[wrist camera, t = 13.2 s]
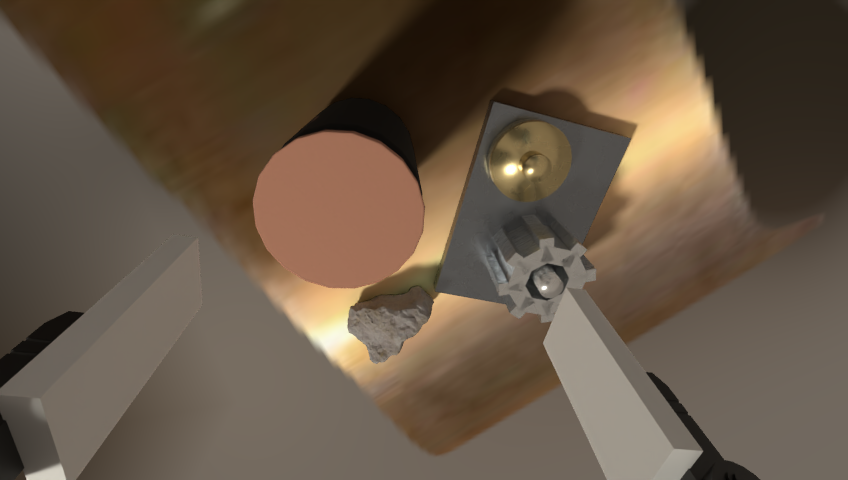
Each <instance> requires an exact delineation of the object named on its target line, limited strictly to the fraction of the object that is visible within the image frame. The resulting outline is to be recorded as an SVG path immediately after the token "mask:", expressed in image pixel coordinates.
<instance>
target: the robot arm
mask: <svg viewBox="0 0 848 480" xmlns="http://www.w3.org/2000/svg"><path fill="white" fill-rule="evenodd" d="M198 244H199V243H198V237H191V236H184V235H176V234H173V235H172V236H171V237H170V238H169V239H167V241H165V242H164V243H163V244H162V245H161V246H160V247H158V248H157V249H156V250H155V251H154V252H153V253H152V254H151V255H149V257H147V258H146V259H145V260H144V261H143V262H142V263H141V264H139V265H138V266H137V267H136V268H135V269H134V270H133V271H132V272H130V273H129V274H128V275H127V276H126V277H125V278H124V279H123V280H121V281H120V282H119V283H118V284H117V285H116V286H115V287H114V288H112V289H111V290H110V291H109V292H108V293H107V294H106V295H105V296H103V297H102V298H101V299H100V300H99V301H98V302H97V303H96V304H94V305H93V306H92V307H91V308H90V309H89V310H88V311H87V312H85V313H81V312H71V311H68V312H66V313H64V314H62V315H60V316H58V317H56V318H54V319H52V320H50V321H48V322H46V323H44V324H43V325H42V326H40V327H39V328H38V329H37V330H35V331H34V332H33V333H32V334H31V335H29V336H28V337H27V338H26V341H22V342H21V343H20V344H18V345H17V346H16V347H15V348H13V349H12V350H11V353H10V354H6V355H5V356H4V357H2V358H1V359H0V480H14V479H15V478H16V477H17V476H18V475H19V473H20V472H21V471H22V470H23V471H24V473H25V476H26V479H27V480H76V479H77V477H78V476H79V475H80V473H81V472H82V470H83V469H84V467H85V466H86V465H87V464H88V462H89V461H90V459H91V458H92V457H93V455H94V454H95V452H96V451H97V450H98V448H99V447H100V446H101V444H102V443H103V441H104V440H105V439H106V437H107V436H108V434H109V433H110V432H111V430H112V429H113V427H114V426H115V425H116V423H117V422H118V421H119V419H120V418H121V417H122V415H123V414H124V412H125V411H126V410H127V408H128V407H129V405H130V404H131V403H132V401H133V400H134V399H135V397H136V396H137V394H138V393H139V392H140V390H141V389H142V387H143V386H144V385H145V383H146V382H147V381H148V379H149V378H150V376H151V375H152V374H153V372H154V371H155V369H156V368H157V367H158V365H159V364H160V363H161V361H162V360H163V358H164V357H165V355H166V354H167V353H168V351H169V350H170V349H171V347H172V346H173V345H174V343H175V342H176V340H177V339H178V338H179V336H180V335H181V333H182V332H183V331H184V329H185V328H186V327H187V325H188V324H189V322H190V321H191V320H192V318H193V317H194V316H195V314H196V313H197V311H198V310H199V309H200V307H201V305H202V290H201V274H200V259H199V245H198ZM543 344H544V346H545V349H546V351H547V353H548V355H549V357H550V359H551V361H552V363H553V366H554V368H555V370H556V372H557V374H558V376H559V378H560V380H561V383H562V385H563V387H564V389H565V391H566V393H567V395H568V397H569V399H570V402H571V404H572V406H573V408H574V410H575V412H576V414H577V417H578V419H579V421H580V423H581V425H582V427H583V429H584V432H585V434H586V436H587V438H588V440H589V442H590V444H591V446H592V449H593V451H594V453H595V455H596V457H597V459H598V461H599V463H600V466H601V468H602V470H603V472H604V474H605V476H606V478H607V480H760V479H759V478H758V477H757V476H756V475H754V474H753V473H751V472H750V471H749V470H747V469H746V468H744V467H743V466H740V465H738V464H736V463H734V462H731V461H726V460H724V459H723V458H722V456H721V455H720V454H719V452H718V451H717V450H716V448H715V447H714V446H713V445H712V443H711V442H710V441H709V439H708V438H707V437H706V436H705V434H704V433H703V431H702V430H701V429H700V428H699V426H698V425H697V424H696V422H695V421H694V420H693V419H692V418H691V416H689V415H688V412H687V411H686V409H685V408H684V407H683V405H682V404H680V403H679V401H678V399H677V398H676V396H675V395H674V394H673V392H672V391H671V390H670V389H669V387H668V386H667V385H666V384H665V383H663V382H662V381H661V380H660V379H659V378H658V377H656V376H655V375H654V374H653V373H648V372H645V371H644V369H643V368H642V367H641V365H640V364H639V363H638V361H637V360H636V358H635V357H634V356H633V354H632V353H631V352H630V350H629V349H628V348H627V346H626V345H625V343H624V342H623V341H622V339H621V338H620V337H619V335H618V334H617V333H616V331H615V330H614V328H613V327H612V326H611V324H610V323H609V322H608V320H607V319H606V318H605V316H604V315H603V313H602V312H601V311H600V309H599V308H598V307H597V305H596V304H595V303H594V301H593V300H592V298H591V297H590V296H589V294H588V293H587V292H586V290H582V289H575V288H568V287H566V289H565V292H564V294H563V297H562V299H561V301H560V304H559V306H558V309H557V311H556V313H555V316H554V318H553V321H552V323H551V325H550V328H549V330H548V333H547V335H546V338H545V340H544V342H543Z"/></svg>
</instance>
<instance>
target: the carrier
mask: <svg viewBox="0 0 848 480" xmlns="http://www.w3.org/2000/svg"><path fill="white" fill-rule="evenodd" d="M630 140H631V138H628V137H626V136H623V135H619V134H615V133H612V132H608V131H604V130H600V129H597V128H593V127H589V126H586V125H582V124H578V123H574V122H571V121H567V120H563V119H560V118H556V117H552V116H548V115H545V114H541V113H537V112H534V111H530V110H526V109H522V108H519V107H515V106H511V105H508V104H504V103H500V102H496V101H493V100H490V103H489V106H488V110H487V113H486V116H485V119H484V123H483V126H482V129H481V132H480V136H479V139H478V142H477V145H476V149H475V152H474V155H473V159H472V162H471V165H470V168H469V172H468V175H467V178H466V181H465V185H464V188H463V191H462V194H461V198H460V201H459V204H458V207H457V211H456V214H455V217H454V220H453V224H452V227H451V230H450V234H449V237H448V240H447V243H446V247H445V250H444V253H443V256H442V260H441V263H440V266H439V269H438V273H437V276H436V279H435V282H434V289H435V292H440V293H446V294H452V295H457V296H463V297H468V298H474V299H479V300H485V301H490V302H496V303H502V304H506V303H505V301H504V299H503V297H502V296H499V294H498V292H497V290H496V287H495V285H494V283H493V280H492V278H491V276H490V273H489V271H488V269H487V262H486V257H487V256H493V255H495V254H496V252H497V249H498V246H497V244H496V242H495V240H494V238H493V236H494V235H495V234H496V233H497V232H498V231H499V230H500V228H502V229H504V230H505V231H507V232H508V233H509V232H510V231H512V230H514V229H516V228H518V227H520V226H521V225H522V216H527V215H533V214H535V216H536V217H537V218H538V219H539V220H540V222H541V223H542V224H543V225H546V226H549V225H550V224H551V223H552V222H553V221H554V220H555V219H556V220H557V221H559V222H560V223H561V224H563V225H564V226H565V227H566V228H567V229H568V230H569V231H570V232H571V233H572V234H573V235H574V236H575V237H576V238H577V239H578V241H579V242H580V243H581V244H583V242H584V240H585V237H586V235H587V233H588V231H589V229H590V227H591V224H592V222H593V220H594V218H595V216H596V214H597V211H598V209H599V207H600V205H601V203H602V201H603V198H604V196H605V194H606V192H607V190H608V188H609V185H610V183H611V181H612V179H613V177H614V175H615V172H616V170H617V168H618V166H619V164H620V162H621V159H622V157H623V155H624V153H625V151H626V149H627V147H628V144H629V142H630ZM530 277H531V279H532V280H533V282H534V284H535V285H536V287H537V289H538V290H539V292H540V294H541V295H542V296H543V297H545V298H554V297H556V296H558V295H559V294H560V293H561V292H562V290H563V282H562V281H561V279H560V278H559V277H558V275H557V274H556V272H555V271H554V270H553V268H552V267H551V266H550V264H549V263H546V264H545V265H543V266H541V267H539V268H537V269H535V270H533V271H531V273H530Z"/></svg>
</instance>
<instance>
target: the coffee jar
mask: <svg viewBox="0 0 848 480" xmlns="http://www.w3.org/2000/svg"><path fill="white" fill-rule="evenodd" d="M253 206H254V215H255V223H256V228H257V230H258V232H259V234H260V236H261V238H262V240H263V242H264V244H265V246H266V248H267V250H268V251H269V252H270V253H271V254H272V255H273V256H274V257H275V258H276V260H277V261H278V262H279V263H280V264H281V265H282V266H283V267H284V268H285V269H287V270H289V271H290V272H292V273H294V274H295V275H297V276H298V277H300V278H302V279H303V280H305V281H308V282H311V283H315V284H318V285H322V286H325V287H329V288H358V287H362V286H366V285H370V284H373V283H377V282H379V281H381V280H383V279H384V278H386V277H388V276H389V275H391V274H393V273H394V272H396V271H398V270H399V269H400V268H401V266H402V265H403V264H404V263H405V262H406V261H407V260H408V259H409V258H410V256H411V255H412V254H413V253H414V251H415V249H416V246H417V244H418V242H419V240H420V237H421V235H422V233H423V225H424V211H425V206H424V203H423V199H422V190H421V185H420V180H419V175H418V170H417V165H416V160H415V155H414V150H413V146H412V142H411V138H410V134H409V131H408V130H407V128H406V127H405V125H404V124H403V122H402V120H401V119H400V117H399V116H397V115H396V114H395V113H394V112H393V111H391V110H390V109H389V108H388V107H387V106H385V105H382V104H380V103H377V102H375V101H372V100H370V99H359V98H349V99H346V100H342V101H339V102H335V103H333V104H332V105H330V106H329V107H327V108H326V109H325V110H323V111H322V112H320V113H319V114H318V115H317V116H316V117H315V118H313V119H312V120H311V121H310V122H309V123H308V124H307V125H306V126H304V127H303V128H302V129H301V130H300V131H299V132H298V133H296V134H295V135H294V136H293V137H292V138H291V139H290V140H289V141H287V142H286V143H285V144H284V145H283V147H282V148H281V149H280V150H279V151H277V152H276V153H274V154H273V156H272V157H271V159H270V160H269V162H268V163H267V164H266V166H265V167H264V169H263V170H262V172H261V173H260V175H259V177H258V181H257V185H256V189H255V194H254V198H253Z"/></svg>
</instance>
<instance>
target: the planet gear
mask: <svg viewBox="0 0 848 480" xmlns="http://www.w3.org/2000/svg"><path fill="white" fill-rule="evenodd" d="M493 238H494V240H495V242H496V244H497V246H498V249H497V252H496V254H495V255H493V256H487V257H486V262H487V269H488V271H489V273H490V276H491V278H492V280H493V283H494V285H495V287H496V290H497V292H498V294H499V296H502V297H503V299H504V301H505V303H506V306H507V308H508V310H509V313H511V314H512V315H514V316H515V317H517V318H519V319H520V318H521V317H522V316H523V315H524V314H525V313H526V312H529V313H534V314H537V316H538V318H539V320H540V321H541V323H543V322H549V321H553V318H554V312H556V311H557V309H558V306H559V304H560V301H561V299H562V297H563V294H564V292H565V289H566V287H568V288H575V289H582V288H583V286H584V284H585V282H589V281H595V280H596V268H595V267H594V266H593V265H592V264H591V263H590V261H589V260H588V259H587V258H586V257H585V256H584V255H583V254H584V253H585V252H586V251H587V249H586V248H585V247H584V246H583V245H582V244H581V243H580V242H579V241H578V239H577V238H576V237H575V236H574V235H573V234H572V233H571V232H570V231H569V230H568V229H567V228H566V227H565V226H564V225H563V224H561V223H560V222H559V221H557V220H556V219H555V220H554V221H553V222H552V223H551V224H550V225H549V226H546V225H543V224H542V223H541V222H540V220H539V219H538V218H537V217H536V216H535V214H533V215H527V216H522V225H521V226H520V227H518V228H516V229H514V230H512V231H510V232H509V233H508V232H507V231H505V230H504V229H502V228H500V230H499V231H498V232H497V233H496V234H495V235H494V236H493ZM546 263H549V264H550V266H551V267H552V268H553V270H554V271H555V272H556V274H557V275H558V277H559V278H560V279H561V281H562V282H563V290H562V292H561V293H560V294H559V295H558V296H556V297H554V298H545V297H543V296H542V295H541V294H540V292H539V290H538V289H537V287H536V285H535V284H534V282H533V280H532V279H531V277H530V273H531V271H533V270H535V269H537V268H539V267H541V266H543V265H545V264H546Z"/></svg>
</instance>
